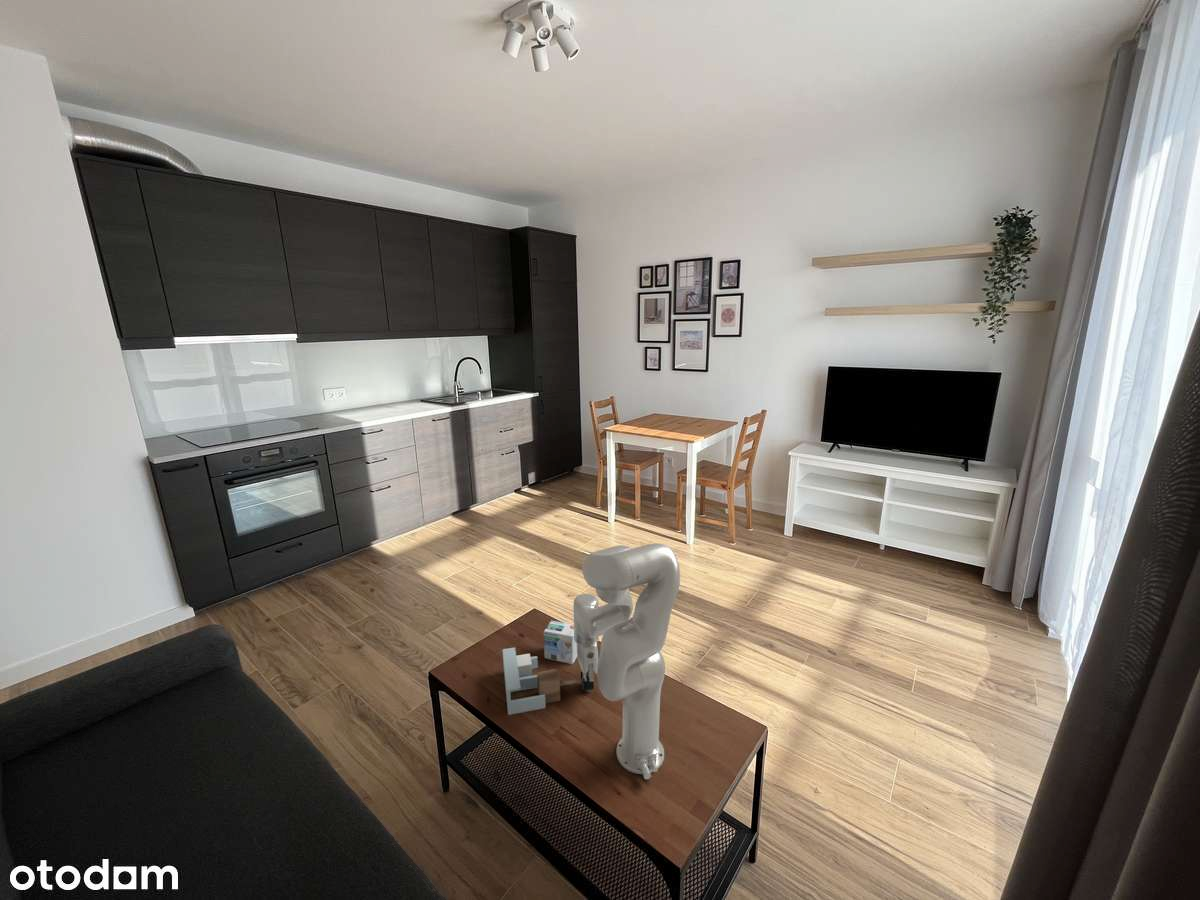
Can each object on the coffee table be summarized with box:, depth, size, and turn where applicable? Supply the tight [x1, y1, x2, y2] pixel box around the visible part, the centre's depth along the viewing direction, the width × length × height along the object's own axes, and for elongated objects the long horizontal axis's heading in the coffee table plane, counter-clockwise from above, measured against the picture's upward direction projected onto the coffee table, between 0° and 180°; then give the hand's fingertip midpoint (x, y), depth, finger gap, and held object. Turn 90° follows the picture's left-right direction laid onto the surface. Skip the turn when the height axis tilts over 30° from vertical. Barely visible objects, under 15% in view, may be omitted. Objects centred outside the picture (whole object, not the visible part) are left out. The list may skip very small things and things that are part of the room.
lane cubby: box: [502, 647, 547, 716], centre depth 154 cm, size 19×11×9 cm, turn 14°
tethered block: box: [536, 668, 591, 704], centre depth 153 cm, size 6×16×7 cm, turn 105°
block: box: [516, 653, 533, 678], centre depth 159 cm, size 6×6×7 cm
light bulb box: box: [543, 620, 578, 665], centre depth 170 cm, size 11×7×11 cm, turn 73°
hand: (587, 685), depth 155 cm, fingers closed on tethered block, 2 cm apart
